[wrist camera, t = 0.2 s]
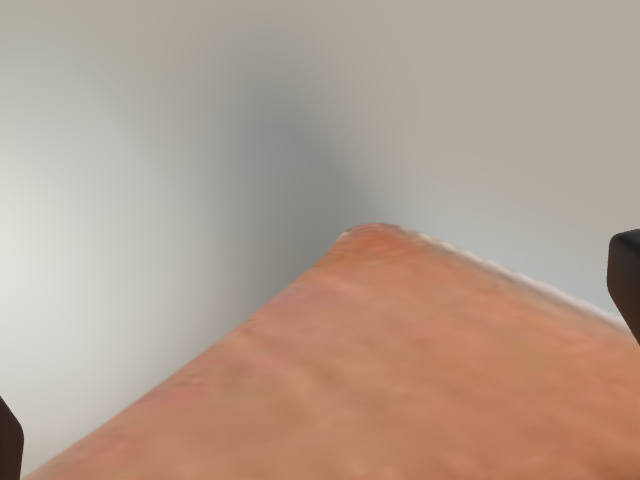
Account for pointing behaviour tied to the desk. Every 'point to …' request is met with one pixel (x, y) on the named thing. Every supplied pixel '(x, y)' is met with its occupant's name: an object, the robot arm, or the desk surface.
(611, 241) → the robot arm
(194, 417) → the desk surface
